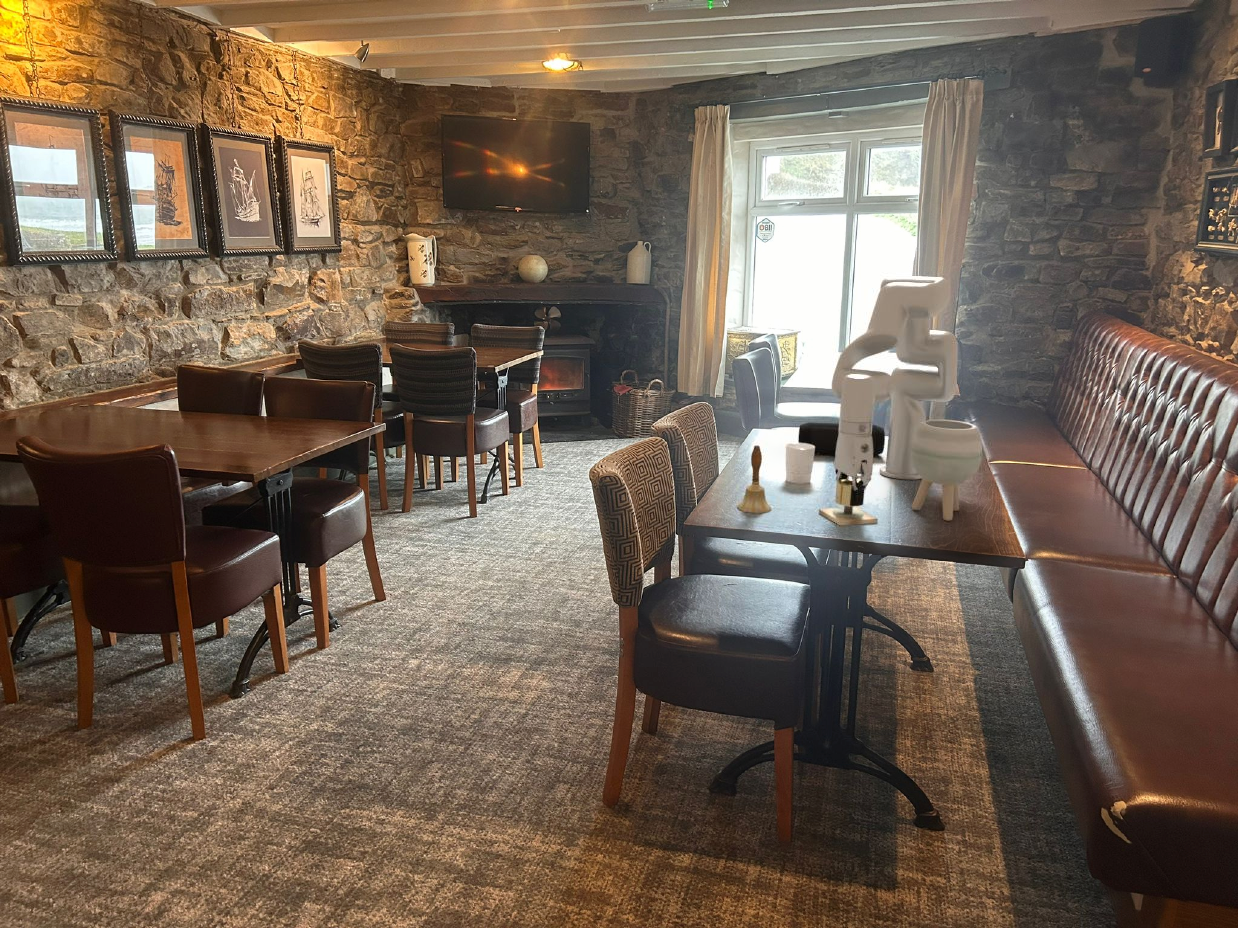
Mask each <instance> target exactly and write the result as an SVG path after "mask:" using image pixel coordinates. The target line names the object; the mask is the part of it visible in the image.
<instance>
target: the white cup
mask: <svg viewBox="0 0 1238 928" xmlns="http://www.w3.org/2000/svg"><path fill="white" fill-rule="evenodd" d="M814 452H815V446H814V445H811V444H806V443H798V442H791V443H790V442H789V443H786V445H785V481H787V482H788V483H792V484H799V485H802V484H804V485H805V484H809V483H811V479H812V473H813V467H814V461H815V454H814Z"/></svg>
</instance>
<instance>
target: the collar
mask: <svg viewBox="0 0 1238 928" xmlns="http://www.w3.org/2000/svg"><path fill="white" fill-rule="evenodd" d="M859 481H860V480H857V483H858V482H859ZM836 486H837V487H836ZM836 486H835V489H836V490H835V501H834V502H835V504H837V505H840V506H843V507H844V506H849V507H850V506H851V505H850V499H851V489H853V483H852V479H845V480H839V481H836ZM860 506H862V505H860ZM860 506H859V507H860ZM851 507H856V506H851Z"/></svg>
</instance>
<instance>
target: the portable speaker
mask: <svg viewBox="0 0 1238 928" xmlns="http://www.w3.org/2000/svg"><path fill="white" fill-rule="evenodd" d="M838 432H839V422H838V423H837V422H835V423H834V422H833V423H831V422H812V421H811V422H809V421H808V422H806V423H805V422H804V423H802V424H799V429H798V439H797V440H798V442H797V443H806V444H811V445H814V446H815V452H814V455H822V454H823V456H824V455H826V456H827V455H829V456H835V453H836V446H837V440H838V435H839V433H838ZM885 433H886V432H885V429H884V427H881V426H879V425H876V424H872V435H871V436H872V440H873V457H876V456H878V455H882V454H883V452H884V450H885V445H886V444H885V443H886V442H885V441H886V435H885Z"/></svg>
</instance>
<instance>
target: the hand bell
mask: <svg viewBox="0 0 1238 928" xmlns="http://www.w3.org/2000/svg"><path fill="white" fill-rule="evenodd" d="M762 456H763V455H762V451H761V447H760V445H754V446H753V449H752V453H751V455H750V462H751V468H752V478H751V481H752V483H751V484H750V485H748V486H746V488H745V493H744V497H743V498H742V500H741V502H739V503H738V505H737V506H736V507H737V509H738V510H739V511H741V512H745V513H749V514H765V513H769V512H771V511H772V507H771V505H770V504H769V503H768V501H767V499H766V493H765V488H764V486H762V485H761V484H760V469H761V467H762V466H761V465H762V461H763V460H762V459H763V457H762Z"/></svg>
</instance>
